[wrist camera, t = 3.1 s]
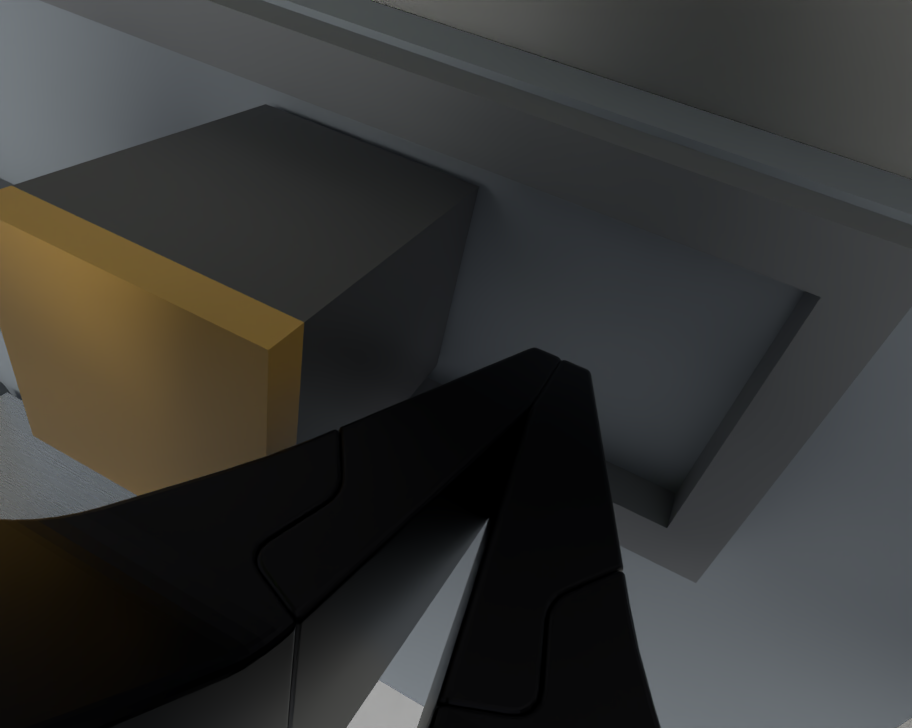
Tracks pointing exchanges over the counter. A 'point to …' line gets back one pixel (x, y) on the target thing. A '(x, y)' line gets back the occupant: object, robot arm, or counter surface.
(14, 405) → the rack door
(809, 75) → the counter surface
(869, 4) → the counter surface
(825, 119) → the counter surface
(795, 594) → the console
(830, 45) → the counter surface
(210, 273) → the fader knob
